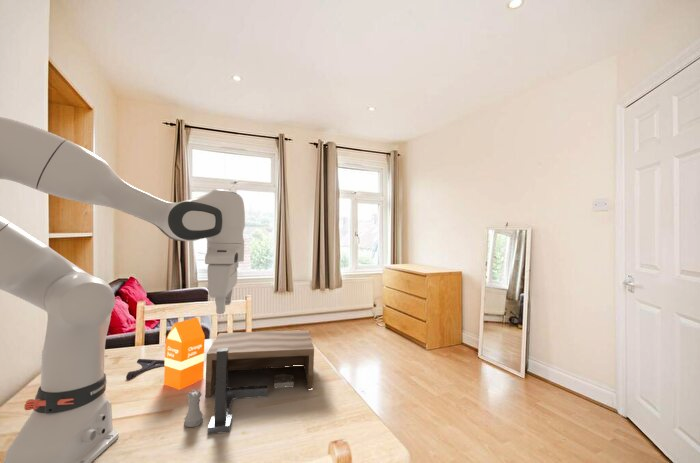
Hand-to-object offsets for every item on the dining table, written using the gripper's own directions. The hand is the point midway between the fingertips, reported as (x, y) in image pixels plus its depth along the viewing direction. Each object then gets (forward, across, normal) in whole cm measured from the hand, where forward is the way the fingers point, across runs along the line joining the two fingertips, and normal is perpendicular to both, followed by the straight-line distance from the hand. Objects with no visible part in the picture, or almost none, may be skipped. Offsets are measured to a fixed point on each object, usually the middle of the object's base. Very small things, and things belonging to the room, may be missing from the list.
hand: (224, 308), depth 82 cm
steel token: (+30, -22, +16) cm, 41 cm away
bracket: (+31, -39, -32) cm, 59 cm away
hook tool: (+30, -7, +4) cm, 31 cm away
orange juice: (+30, -28, -16) cm, 44 cm away
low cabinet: (+30, -26, +9) cm, 41 cm away
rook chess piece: (+30, -3, -7) cm, 31 cm away
